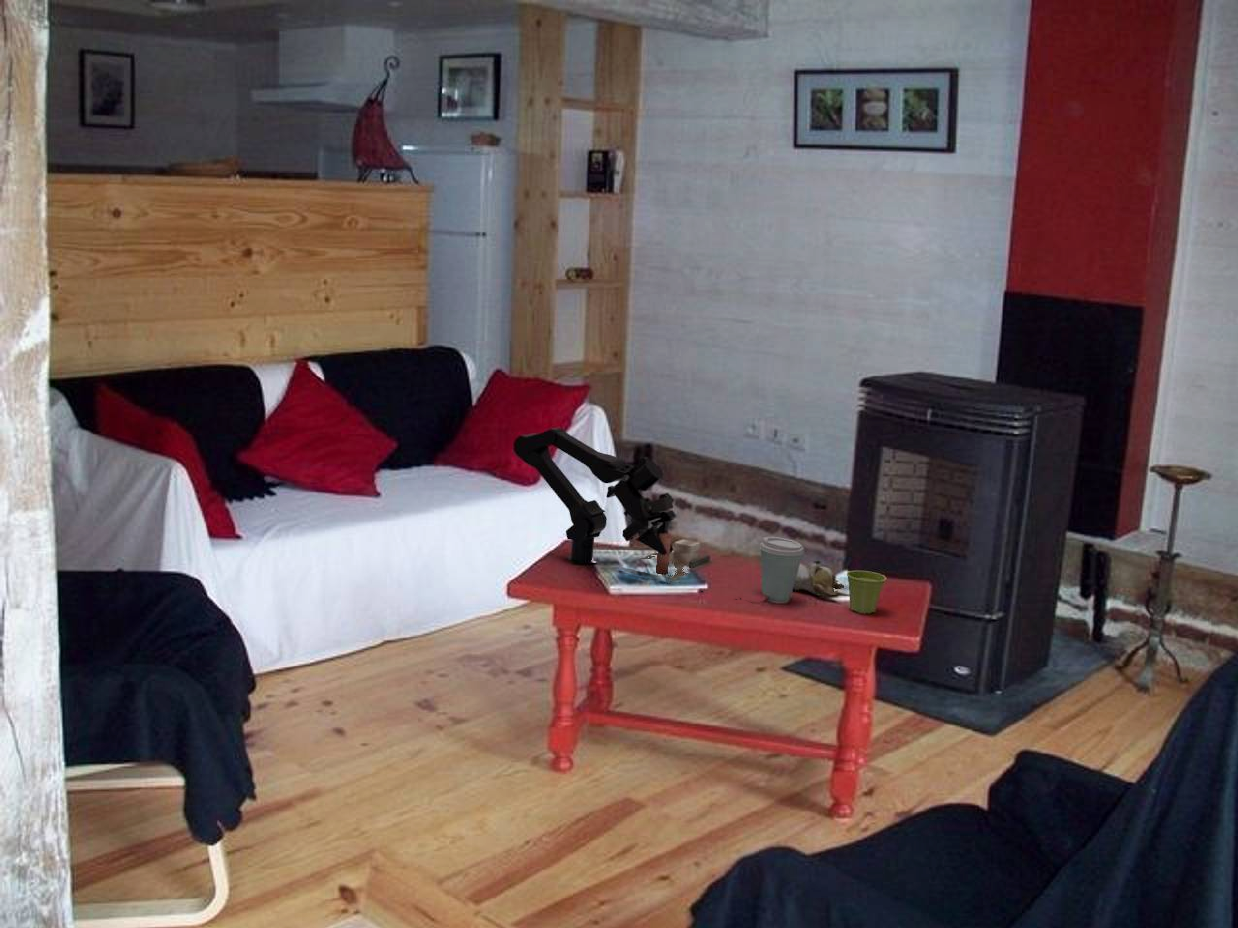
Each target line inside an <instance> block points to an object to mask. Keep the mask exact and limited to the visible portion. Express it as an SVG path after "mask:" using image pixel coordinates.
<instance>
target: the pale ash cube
mask: <svg viewBox="0 0 1238 928" xmlns="http://www.w3.org/2000/svg"><path fill="white" fill-rule="evenodd" d="M700 549H701V542H697V541H693V540H689V539H683V538H682V539H680V540H677V541H674V543H673V551H672V552H673V562H677V563H682V564H687V565H689V562H690V561H692V560H695V559H697V558H700Z"/></svg>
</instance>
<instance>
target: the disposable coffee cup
mask: <svg viewBox="0 0 1238 928" xmlns="http://www.w3.org/2000/svg"><path fill="white" fill-rule="evenodd" d="M759 548H760V567H761V569H760V570H761V593H762V595H764V596H767V598H764V601H766V602H769V603H773V604H782V605H783V604H787V603H789V602H790V600H791V598H792V595H793V590H794V588H793V587H794V584H795V580H796V576H797V573H798V569H799V565H800V563H801V561H802V558H803V554H804V553H805V548H804V547H803V545H802V544H801V543H800V542H797V541H796V540H792V539H789V538H784V537H777V536H765V537H763V538H762V541H761V542H760V544H759Z"/></svg>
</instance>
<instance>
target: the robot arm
mask: <svg viewBox="0 0 1238 928" xmlns="http://www.w3.org/2000/svg"><path fill="white" fill-rule="evenodd" d="M552 446H553V447H555V448H556V449H558V450H560V451H561V452H563V453H565V454H567V455H568V456H570V457H571V458H573V459H575V460H576V461H578V462H580V463H581V464H582V465H585V466H586V467H587V468H588V469H589V470H590V471H591V474H592V475H593V476H594V477H595V478H597V479H598V480H599V481H600V482H602V483H603V484H611V483H614V482H617V483H616V484H615V485H610V486H607V492H606V498H607V499H608V498H609V499H610V498H612V497H616V498H617V500H618V501H619V503H620V504H621V506H622V507H623V509H624V512H623V515H624V516H625V517H627V516H628V517H629V518H630V520H631V521H632V522H631V523H630V524H628V525H627V526H626V527H625V528H624V529H623V530H622V537H623V539H624V540H625V542H629V541H633V540H634V536H636V535H638V537H637V538H635V541H636V542H640V543H642V544H643V545H646V546H647V547H649V548H651V549H652V550H654V551H656V552H659V553H661V554H662V555H665V554H666V553H667V551H666V549H665V547H664V545H663V543H662V542H661V540H660V538H659V534H660V533H668V534H669V531H668V529H669V525H670V524H671V522H672V521H674V519H676V518H678V517H677V514H675V512H674V510H672V509H674V505H673V504H674V502H675V498H673V497H672V495H671V494H669V492H665V493H662V494H660V495H659V499H655V500H652V499H651V498H650V497H645V496H644V495H643V493H642V491H643V492H647V491H648V490H649V489H651V488H652V487H653V486H654V485H656V484H657V483H659V481H660V480H662V479H663V477H664V473H663V470H662V468H661V466H660V465H657V464H656V463H655V462H654V461H652V460H650V458H649V457H648V456H646V457H645V456H644V457H643V458H641V459H640V460H639V462H637V464H635V465H629V464H628V463H626V462H625V461H624V460H623V459H621V458H620V457H617V456H614V455H612V454H607V453H603V452H600V451H597V450H596V449H594V448H593V447H592V446H590V445H587V444H586V443H585V442H583V441H581V440H579V439H577V438H576V437H574V436H573V435H571V434H569V433H568V432H566V431H565V430H564V429H563V428H561V427H555V428H554V427H553V428H549V429H547V430H546V431H543V432H541V433H535V432H533V433H530V434H529V433H528V434H523V435H519V436H517V437H516V438H515V439H514V442H513V448H512V450H513V452H514V454H515V455H516V456H517V457H518V458H519V459H520V460H521V461H522V462H524V463H525V464H526V465H529V466H530V467H532V468H534V469H535V470H536V471H537V472H538V473H539V474H540V476H541V478H543V480H544V481H545V482H546V483H547V485H548V486H549V487H550V489H552V491H553V492H554V493H555V495H556V496H557V497H558V499H560V501H561V502H562V504H563V505H564V506H565V507H566V508H567V510H568V512H569V516H570V521H571V522H572V524H573V525H571V526H569V527H568V529H566V530H565V535H566V539H567V540H570V541H571V545H570V546H571V547H570V555H566V556H565V558H566V560H568V561H569V562H570V563H572V564H573V565H592V564H591V563H590V562H591V560H592V558H593V557H594V546H595V538H598V537H600V535H601V533H602V531H604V530H605V528H606V527H607V520H608V519H607V516H606V514H605V512H606V511H605V510H604V509H603V508H602V507H601V506H600V505H599V503H598V502H597V500H595V499H593V500H590V501H588V500H586V499H585V498H584V497H583V496H582V495H581V494H580V492H579V491H578V489H577V488H576V487H575V486H574V485H573V484H572V482H571V481H570V480H569V479H568V477H567V476H566V474H564V473H563V471H562V470H561V469H560V468H559V466H558V465H557V464H556V463H555V462H554V459H552V457H551V454H550V453H551V452H550V448H549V447H552ZM625 478H627V479H626V480H623V479H625ZM618 481H619V482H618ZM673 551H674V546H673V545H672V543H671V544H670V553H671V552H673ZM593 559H594V558H593Z"/></svg>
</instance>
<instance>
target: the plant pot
mask: <svg viewBox="0 0 1238 928" xmlns="http://www.w3.org/2000/svg"><path fill="white" fill-rule="evenodd" d="M846 576H847V581H848V586H849V589H848V590H849V609H850V610H851V611H855V612H856V613H860V614H866V613H868V614H871V613H873V612H874V613H875V612H876V610H877V606H878V602H879V599H880V595H881V592H882V588H883V586H884V584H885V581H887V577H886V576H885V575H884V574H881V573H878V572H873V571H868V570H851V571H847V572H846Z"/></svg>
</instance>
